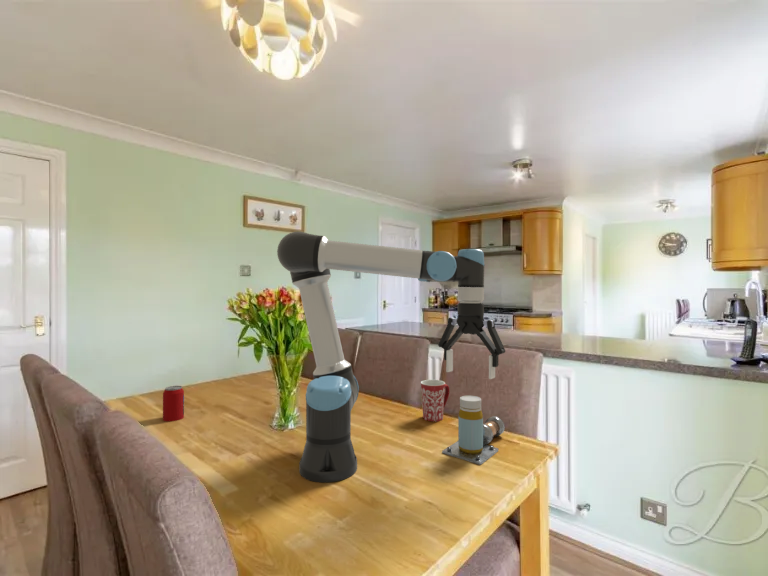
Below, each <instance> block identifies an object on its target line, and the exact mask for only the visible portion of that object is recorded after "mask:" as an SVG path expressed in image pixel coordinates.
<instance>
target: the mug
mask: <svg viewBox="0 0 768 576" xmlns="http://www.w3.org/2000/svg"><path fill="white" fill-rule="evenodd" d="M420 386H421V387H420V388H421V405H422V406H421V408H422V419H423V418H424V419H423V420H425V421H427V420H428V422H434V421H435V422H440V420H441V421H443V419H444V408H445V406H446V404H447V402H448V399H449V396H450V387H449V385H448V384H446V381H443V380H441V379H440V380H438V379H426V380H421V381H420Z"/></svg>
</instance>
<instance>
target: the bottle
mask: <svg viewBox="0 0 768 576" xmlns="http://www.w3.org/2000/svg"><path fill="white" fill-rule="evenodd" d="M457 419H458V420H457V421H458V427H457V428H458V440H457V441H458V445H459V448H460V450H461V451H463V452H465V453H469V454H476V453H480V452H481V451H482V450H483V424H484V413H483V412H482V398H481V397H480V396H476V395H462V396H460V397H459V411H458V418H457Z"/></svg>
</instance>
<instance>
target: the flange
mask: <svg viewBox="0 0 768 576" xmlns="http://www.w3.org/2000/svg"><path fill="white" fill-rule="evenodd" d="M505 428H506V427H505V423H504V421H503V420H502V419H501V418H500V417H499V416H496V415H493V416H490V417H489V418H486V420H485V421H484V423H483V450H482V451H481V452H480V453H476V454H469V453H465V452H463V451H461V450H460V448H459V445H458V440H457V441H455V442H454V443H452V444H451V445H449V446H447V447H446V448H445V449H442V451H441V453H442V454H444V455H447V456H450V457H453V458H457V459H460V460H463V461H467V462H469V463H473V464H476V465H478V466H481V465H483V464H484V463H485V462H487V461H488V460H489V459H490V458H492V457H493V456H494V455H496V454H497V453H498V452H499V448H497V447H495V446H494V445H492V444H490V445H488V444H489V443H491V442H492V441H493V439H494V436H496V438H497V437H499V436H501V435H502V434H504V431H505Z"/></svg>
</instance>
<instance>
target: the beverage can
mask: <svg viewBox="0 0 768 576" xmlns="http://www.w3.org/2000/svg"><path fill="white" fill-rule="evenodd" d="M184 417H185V391H184V389H183V387H182V385H173V386H172V385H169V386H166V387H165V388H164V391H163V393H162V421H163V422H166V423H167V422H176V421H180V420H182V419H184Z"/></svg>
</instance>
